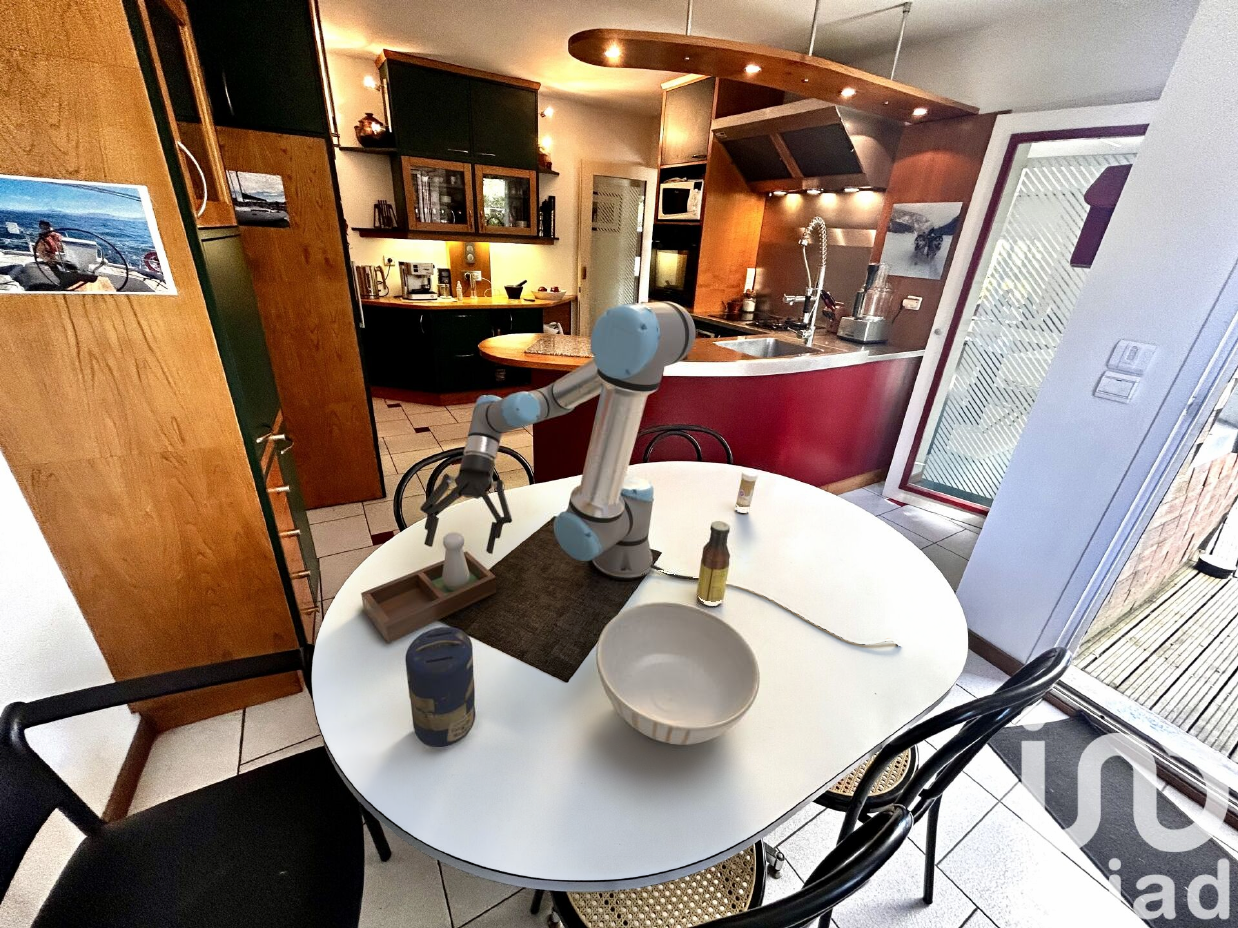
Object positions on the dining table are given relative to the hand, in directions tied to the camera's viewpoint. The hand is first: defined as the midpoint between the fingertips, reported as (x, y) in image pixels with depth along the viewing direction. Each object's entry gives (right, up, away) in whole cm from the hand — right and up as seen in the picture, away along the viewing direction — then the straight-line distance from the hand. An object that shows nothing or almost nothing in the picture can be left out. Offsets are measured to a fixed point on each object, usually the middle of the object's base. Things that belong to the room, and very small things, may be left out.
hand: (458, 549), depth 107 cm
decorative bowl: (+44, -24, -21) cm, 54 cm away
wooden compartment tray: (-5, -11, -2) cm, 12 cm away
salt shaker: (-1, -9, +2) cm, 9 cm away
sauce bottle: (+56, -13, +6) cm, 58 cm away
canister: (+7, -24, -28) cm, 37 cm away
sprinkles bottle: (+73, +4, +46) cm, 87 cm away
